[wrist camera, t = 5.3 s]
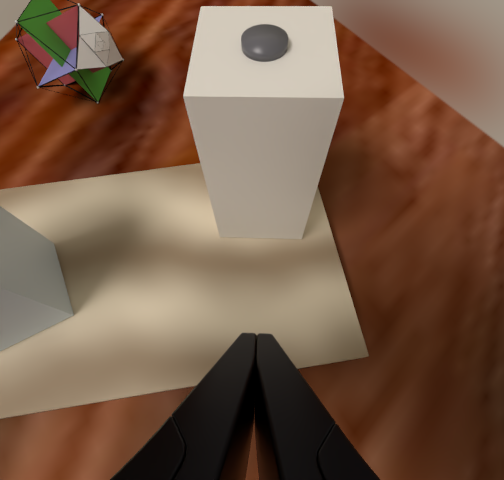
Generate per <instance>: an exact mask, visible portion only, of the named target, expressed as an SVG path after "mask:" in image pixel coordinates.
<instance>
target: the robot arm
mask: <svg viewBox="0 0 504 480" xmlns="http://www.w3.org/2000/svg"><path fill="white" fill-rule="evenodd" d="M254 408H255V437H256V449H257V461H258V473H259V480H380V479H379V477H378V476H377V475H376V474H375V473H374V472H373V470H372V469H371V468H370V467H369V466H368V464H367V463H366V462H365V461H364V460H363V458H362V457H361V456H360V454H359V453H358V452H357V450H356V449H355V448H354V446H353V445H352V444H351V443H350V441H349V440H348V439H347V437H346V436H345V434H344V433H343V432H342V430H341V429H340V427H339V426H338V425H337V424H335V421H334V419H333V418H332V416H331V415H330V414H329V412H328V411H327V410H326V408H325V407H324V405H323V404H322V403H321V401H320V400H319V398H318V397H317V396H316V394H315V393H314V391H313V390H312V389H311V387H310V386H309V385H308V383H307V382H306V380H305V379H304V378H303V376H302V375H301V373H300V372H299V371H298V369H297V368H296V366H295V365H294V364H293V362H292V361H291V360H290V358H289V357H288V355H287V354H286V353H285V351H284V350H283V348H282V347H281V346H280V344H279V343H278V341H277V340H276V339H275V337H274V336H273V335H272V334H268V333H259V334H257V335H256V334H255V333H241V334H240V335H239V336H238V338H237V339H236V340H235V341H234V342H233V343H232V345H231V346H230V347H229V348H228V349H227V350H226V352H225V353H224V354H223V355H222V356H221V357H220V359H219V360H218V361H217V362H216V363H215V364H214V366H213V367H212V368H211V369H210V370H209V371H208V373H207V374H206V375H205V376H204V377H203V378H202V380H201V381H200V382H199V383H198V384H197V385H196V387H195V388H194V389H193V390H192V391H191V392H190V394H189V395H188V396H187V397H186V398H185V399H184V401H183V402H182V403H181V404H180V405H179V406H178V408H177V409H176V410H175V411H174V412H173V413H172V416H170V417H169V418H168V419H167V420H166V421H165V423H164V424H163V425H162V426H161V427H160V428H159V430H158V431H157V432H156V433H155V434H154V435H153V436H152V437H151V438H150V439H149V441H148V442H147V443H146V444H145V445H144V446H143V447H142V448H141V449H140V450H139V451H138V452H137V453H136V454H135V455H134V456H133V457H132V458H131V459H130V460H129V461H128V462H127V463H126V464H125V465H124V466H123V467H122V468H121V469H120V470H119V471H118V472H117V473H116V474H115V475H114V476H113V477H112V478H111V479H110V480H245V477H246V471H247V464H248V458H249V451H250V445H251V438H252V432H253V424H254Z"/></svg>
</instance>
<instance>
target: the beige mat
mask: <svg viewBox="0 0 504 480" xmlns="http://www.w3.org/2000/svg"><path fill="white" fill-rule="evenodd" d="M0 206H1V207H2V208H4V209H5V210H7V211H8V212H9V213H11V214H12V215H14V216H15V217H17V218H18V219H20V220H21V221H22V222H24V223H25V224H27V225H28V226H30V227H31V228H33V229H34V230H35V231H37V232H38V233H40V234H41V235H43V236H44V237H46V238H47V239H48V240H50V241H51V242H53V243H54V246H55V249H56V253H57V256H58V260H59V264H60V267H61V271H62V274H63V278H64V281H65V285H66V289H67V292H68V296H69V299H70V303H71V306H72V310H73V314H74V315H73V316H71V317H69V318H67V319H65V320H63V321H61V322H59V323H57V324H55V325H53V326H51V327H49V328H47V329H45V330H43V331H41V332H39V333H37V334H35V335H33V336H30V337H28V338H26V339H24V340H22V341H20V342H18V343H16V344H14V345H12V346H10V347H8V348H6V349H4V350H2V351H0V419H3V418H9V417H15V416H21V415H27V414H33V413H39V412H45V411H51V410H57V409H63V408H68V407H74V406H80V405H86V404H92V403H98V402H104V401H110V400H116V399H122V398H128V397H134V396H139V395H145V394H151V393H157V392H163V391H169V390H175V389H181V388H187V387H193V386H196V385H197V384H198V383H199V382H200V381H201V380H202V378H203V377H204V376H205V375H206V374H207V373H208V371H209V370H210V369H211V368H212V367H213V366H214V364H215V363H216V362H217V361H218V360H219V359H220V357H221V356H222V355H223V354H224V353H225V352H226V350H227V349H228V348H229V347H230V346H231V345H232V343H233V342H234V341H235V340H236V339H237V338H238V336H239V335H240V334H241V333H255V334H256V335H257V334H259V333H268V334H272V335H273V336H274V337H275V339H276V340H277V341H278V343H279V344H280V346H281V347H282V348H283V350H284V351H285V353H286V354H287V355H288V357H289V358H290V360H291V361H292V362H293V364H294V365H295V366H296V368H297V369H299V368H305V367H311V366H317V365H323V364H329V363H335V362H341V361H347V360H353V359H358V358H364V357H368V356H369V354H368V351H367V348H366V344H365V341H364V338H363V335H362V331H361V328H360V325H359V321H358V318H357V315H356V311H355V308H354V305H353V301H352V298H351V295H350V292H349V288H348V285H347V282H346V278H345V275H344V272H343V268H342V265H341V262H340V258H339V255H338V252H337V249H336V245H335V242H334V239H333V235H332V232H331V229H330V225H329V222H328V219H327V215H326V212H325V209H324V206H323V202H322V199H321V196H320V192H319V189H318V186H317V190H316V193H315V196H314V200H313V203H312V206H311V210H310V213H309V216H308V220H307V223H306V226H305V230H304V233H303V236H302V239H274V238H235V237H220V236H219V232H218V228H217V224H216V221H215V217H214V213H213V209H212V205H211V201H210V197H209V194H208V190H207V186H206V182H205V178H204V174H203V170H202V167H201V163H198V164H191V165H183V166H176V167H168V168H160V169H153V170H145V171H138V172H130V173H123V174H115V175H108V176H100V177H92V178H85V179H77V180H70V181H62V182H55V183H47V184H40V185H32V186H24V187H17V188H9V189H2V190H0Z"/></svg>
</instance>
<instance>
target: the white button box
mask: <svg viewBox="0 0 504 480" xmlns="http://www.w3.org/2000/svg"><path fill="white" fill-rule="evenodd" d="M183 97H184V101H185V105H186V109H187V113H188V117H189V120H190V124H191V128H192V132H193V136H194V140H195V144H196V147H197V151H198V155H199V159H200V163H201V167H202V170H203V174H204V178H205V182H206V186H207V190H208V194H209V197H210V201H211V205H212V209H213V213H214V217H215V221H216V224H217V228H218V232H219V236H220V237H235V238H274V239H302V236H303V233H304V230H305V226H306V223H307V220H308V216H309V213H310V210H311V206H312V203H313V200H314V196H315V193H316V190H317V186H318V183H319V180H320V176H321V173H322V170H323V166H324V163H325V160H326V156H327V153H328V150H329V146H330V143H331V140H332V136H333V133H334V130H335V126H336V123H337V120H338V116H339V113H340V110H341V106H342V103H343V100H344V94H343V87H342V79H341V72H340V65H339V57H338V50H337V42H336V35H335V28H334V20H333V14H332V7H331V6H201V9H200V14H199V19H198V24H197V29H196V34H195V39H194V44H193V49H192V54H191V59H190V64H189V70H188V75H187V80H186V85H185V90H184V95H183Z"/></svg>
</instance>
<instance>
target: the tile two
mask: <svg viewBox="0 0 504 480" xmlns="http://www.w3.org/2000/svg"><path fill="white" fill-rule="evenodd" d="M73 315H74V314H73V310H72V306H71V303H70V299H69V296H68V292H67V289H66V285H65V281H64V278H63V274H62V271H61V267H60V264H59V260H58V256H57V253H56V249H55V246H54V243H53V242H51V241H50V240H48V239H47V238H46V237H44V236H43V235H41V234H40V233H38V232H37V231H35V230H34V229H33V228H31V227H30V226H28V225H27V224H25V223H24V222H22V221H21V220H20V219H18V218H17V217H15V216H14V215H12V214H11V213H9V212H8V211H7V210H5V209H4V208H2V207H1V206H0V351H2V350H4V349H6V348H8V347H10V346H12V345H14V344H16V343H18V342H20V341H22V340H24V339H26V338H28V337H30V336H33V335H35V334H37V333H39V332H41V331H43V330H45V329H47V328H49V327H51V326H53V325H55V324H57V323H59V322H61V321H63V320H65V319H67V318H69V317H71V316H73Z"/></svg>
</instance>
